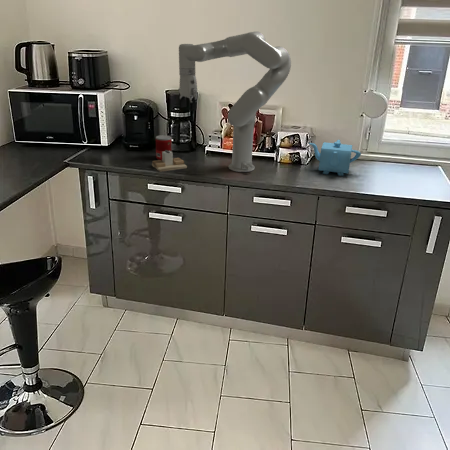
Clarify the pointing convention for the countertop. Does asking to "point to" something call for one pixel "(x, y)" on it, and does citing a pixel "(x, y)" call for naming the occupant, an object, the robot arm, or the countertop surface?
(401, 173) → the countertop surface
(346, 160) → the teakettle
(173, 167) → the board
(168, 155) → the tab
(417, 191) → the countertop surface
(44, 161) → the countertop surface
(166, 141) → the canned food
